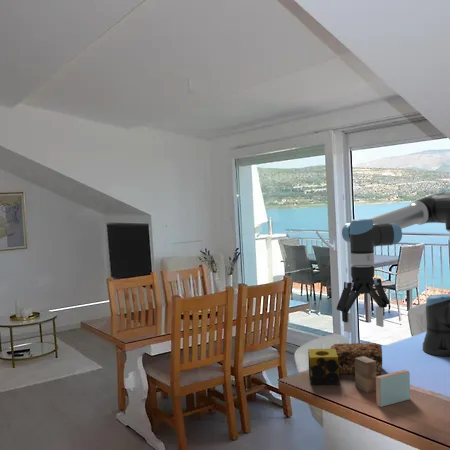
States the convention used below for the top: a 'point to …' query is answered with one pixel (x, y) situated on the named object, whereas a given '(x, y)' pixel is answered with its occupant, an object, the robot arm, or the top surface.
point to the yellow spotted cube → (323, 367)
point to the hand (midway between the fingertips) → (364, 328)
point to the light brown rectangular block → (365, 374)
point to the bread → (356, 350)
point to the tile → (392, 388)
